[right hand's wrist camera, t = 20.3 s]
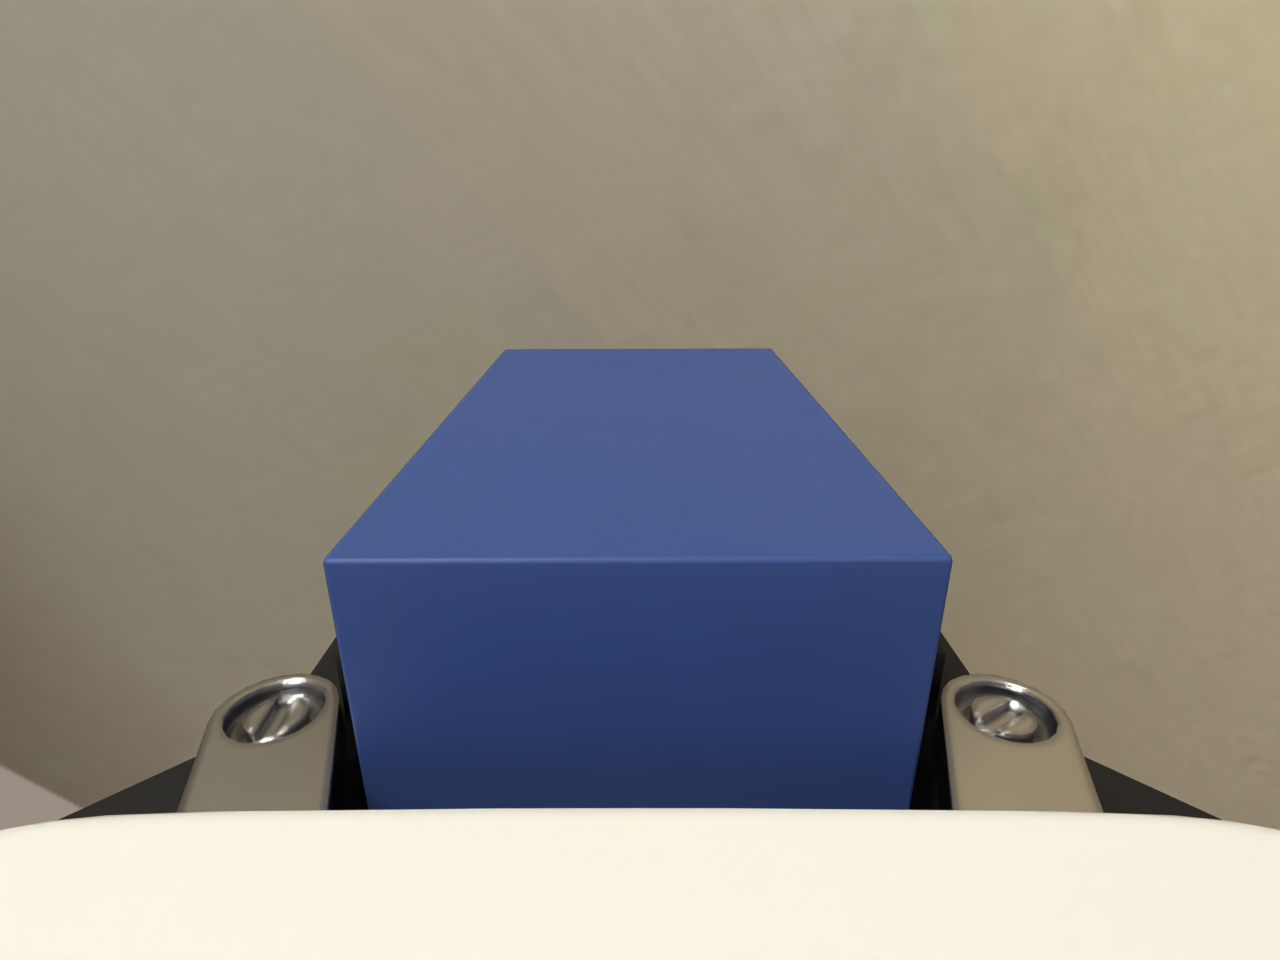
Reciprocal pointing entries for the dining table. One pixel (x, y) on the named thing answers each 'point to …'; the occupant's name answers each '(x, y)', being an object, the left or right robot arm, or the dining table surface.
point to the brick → (638, 597)
